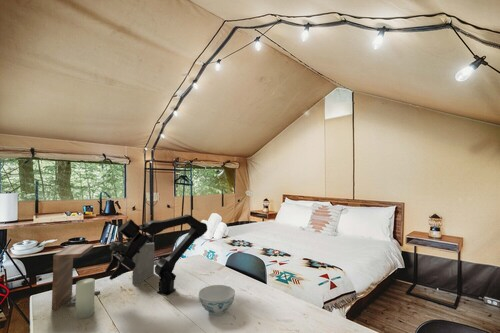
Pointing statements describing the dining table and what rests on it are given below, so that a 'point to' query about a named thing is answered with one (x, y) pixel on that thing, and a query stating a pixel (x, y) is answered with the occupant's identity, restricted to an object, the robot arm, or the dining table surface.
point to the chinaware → (216, 298)
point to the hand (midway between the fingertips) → (107, 275)
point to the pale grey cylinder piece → (84, 298)
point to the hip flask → (143, 263)
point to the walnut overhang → (66, 273)
